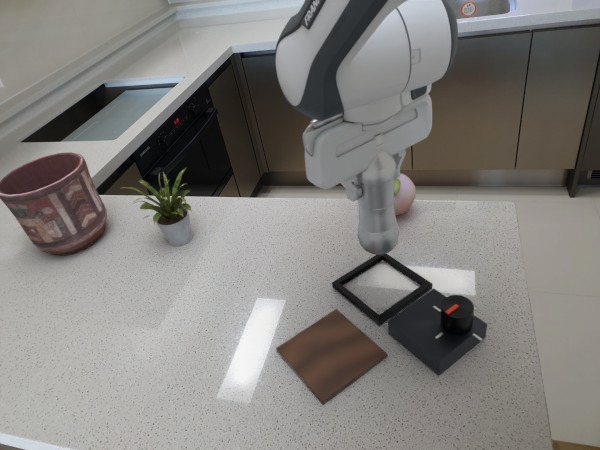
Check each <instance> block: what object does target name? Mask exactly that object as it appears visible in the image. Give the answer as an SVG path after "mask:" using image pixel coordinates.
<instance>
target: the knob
mask: <svg viewBox="0 0 600 450" xmlns="http://www.w3.org/2000/svg"><path fill="white" fill-rule="evenodd" d="M474 307H475V305H474V303H473V302H472V300H470V299H469V298H468V297H467V296H465V295H460V294H452V295H448V296H446V298H445V299H444V300H443V301H442V303H441V325H442V327H443V328H444V329H445V330H446V331H448V332H450V333H453V334H464V333H467V332H468V331H470V329H471V328H472V325H473V315H475V314H474V313H475V310H474Z"/></svg>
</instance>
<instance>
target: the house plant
mask: <svg viewBox="0 0 600 450" xmlns="http://www.w3.org/2000/svg"><path fill="white" fill-rule="evenodd" d="M186 169H187V167H184V168H183V169H181V171H180V172H179V173H178V174H177V177H176V178H175V181H174V183H173V186H172V192H171V191H170V186H169V181H170V180H171V178H169V179H168V178H167V175H166V174H165V172H164V171H162V177H163V183H164V187H162V184H161V172H158V184H159V191H157V189H155V188H154V187H153V186H152V185H151V184H150V183H149V182H147V181H146V180H143V179H140V180H138V182H139V183H140V184H141V185H142V186H144V187H145V188H146V189H147V190H148V191H149V192H151V194H153V195H154V197H155V198H156V199H154V198H152V197H150V196H149V195H147V193H145V192H143V191H142V190H140V189H138V188H136V187H131V186H124V187H123V186H122V187H121V189H130V190H133V191H135V192H138V193H140V194H141V195H143V196H144V197H145V199H146V200H148V201H150V202H153V203H154V204H156V205H154V204H153V203H150V202H147V201H145V200H141V199H142V197H140V198H139V197H138V198H137V199H135V200H134V201H133V202H132V203H131V205H134V204H135V203H137V202H140V203H141V202H142V204H141V205H140V206H139V210H152V211H154V212H156V213H155V214H154V215H153V216H152V221H153V224H154V226H156V225H157V226H158V228H159V229H160V231H161V232H162V234H163V235H164V237H165V238H166V240H167V241H168V243H169V244H170V245H171V246H172V247H181V246H184V245H186V244H188V243H189V242H191V241H192V240H193V238H194V234H193V229H192V222H191V217H190V212H191V213H193V211H192V206H191V204H189V203H187V199H186V198H185V197H186V196H187V194H188V193H190V192H191V190H192V189H186V190H183V191H180V192H179V188H181V187H183V186H185V185H188V183H186V182H185V183H183V184H181V185H180V183H181V181H182V176H183V175H184V173H185V171H186ZM148 217H149V215H146V216H144V217H143V218H142V220H144V219H146V218H148Z"/></svg>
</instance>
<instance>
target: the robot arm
mask: <svg viewBox="0 0 600 450" xmlns="http://www.w3.org/2000/svg"><path fill="white" fill-rule="evenodd" d="M458 41H459V27H458V21H457V15H456V14H455V11H454V9H453V8H452V5H451V4H450V3H449V1H447V0H304V2H303V3H302V5H301V7H300V9H299V10H298V12H297V13H295V14H294V15H292V16H291V17H290V18H289V19H288V21H287V22H286V24H285V25H284V27H283V29H282V31H281V32H280V35H279V37H278V39H277V42H276V45H275V51H274V52H275V53H274V61H275V62H274V63H275V69H276V71H275V72H276V77H277V80H278V84H279V87H280V90H281V93H282V96H283V97H284V99H285V101H286V102H287V104H288V106H290V107H291V108H292V109H294V110H295V111H297V112H299V113H301V114H302V115H304V116H306V117H308V118H311V121H310V122H309V124H308V125H307V127H306V128H305V130H304V131H303V133H302V142H303V148H304V166H305V176H306V179H307V180H308V181H309V182H310V183H311V184H313V185H314V186H315V187H317V188H319V189H322V190H324V191H327V190H330V189H332V188H334V187H336V186H338V185H339V184H341V185H342V186H343V188H344V189H345V195H346V197H347V199H348V200H349V201H351V202H356V201H358V199H360V198H362V194H361V193H362V188H361V187H359V186H357V185H355V184H354V181H355V177H354V176H355V175H357V174H358V173H360V172H362V171H364V170H366V169H368V168H369V166H370V165H371V163H372V162H373V160H374V159H375V157H376V156H377V155H378V154H379V153H381V152H386V153H388V154H390V155H391V156H393V158H394V160H395V163H396V172H395V179H396V178H398V177H400V173H401V167H402V164H403V162H404V160H405V157H406V154H407V152H406V151H407V149H408V148H410V147H412V146H414V145H415V144H418V143H420V142H421V141H424V140H425V139H428V137H429V135H430V133H431V131H432V128H433V101H432V98H431V95H430V94H429V93H430V92H431V91H432V84H434V83H436V82H437V81H441V80H442V79H443V78H444V77H445V76H446V75H447V73H448V72H449V70H450V69H451V67H452V65H453V62H454V60H455V57H456V54H457V50H458V43H459V42H458ZM382 132H383V135H382V143H384V146H383V147H381V148H379V149H376V150H375V147H376V146H377V142H376V139H372V137H374V136H378V135H380V134H381V133H382Z"/></svg>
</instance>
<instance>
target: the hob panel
mask: <svg viewBox="0 0 600 450" xmlns="http://www.w3.org/2000/svg"><path fill="white" fill-rule="evenodd" d="M446 297H447V296H446V295H445V294H443V293H442V292H440V291H438V290H437V289H435V288H434V287H432V289H431V290H430V291H428V292H427V293H426V294H424V295H423V296H421V297H420V298H418V299H417V300H416V301H414V302H413V303H411V304H410V305H409V306H407V307H406V308H404V309H403V310H402V311H400V312H399V313H397V314H396V315H395V316H393V317H392V318H390V319H389V320H387V334H388V335H389V336H390V337H392V338H393V339H394V340H395V341H396V342H397V343H399V344H400V345H401V346H402V347H403V348H404V349H406V350H407V351H408V352H409V353H411V354H412V355H413V356H414V357H415V358H417V359H418V360H419V361H420V362H421V363H422V364H424V365H425V366H426V367H427V368H428V369H430V370H431V371H432V372H434V374H436V375H437V376H440V375H442V374H443V373H444V372H445V371H446V370H447V369H449V368H450V367H452V366H453V365H454V364H455V363H456V362H458V360H460V359H461V358H462V357H463V356H465V355H466V354H467V353H468V352H469V351H471V350H472V349H473V348H474V347H476V346H477V345H478V344H479V343H481V342H482V341H483V340H484V339H485V338H486V336H487V328H488V323H487V322H486V321H483V320H482V319H481V318H479V317H478V316H476V315H475V314H474V315H473V325H472V328H471V329H470V331H468V332H467V333H464V334H453V333H450V332H448V331H446V330H445V329H444V328H443V327H442V325H441V303H442V301H443V300H444V299H445V298H446ZM477 308H478V307H477V306H474V311H476V310H477Z"/></svg>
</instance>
